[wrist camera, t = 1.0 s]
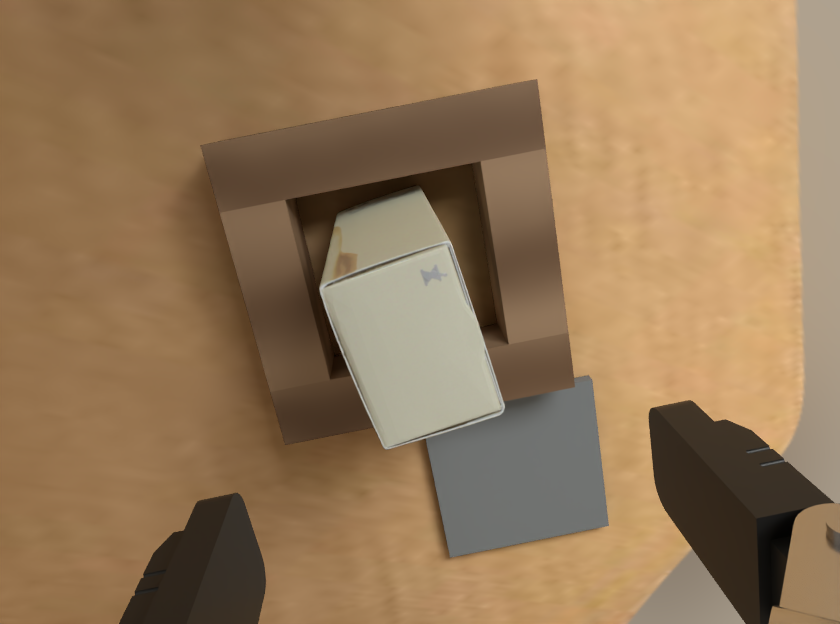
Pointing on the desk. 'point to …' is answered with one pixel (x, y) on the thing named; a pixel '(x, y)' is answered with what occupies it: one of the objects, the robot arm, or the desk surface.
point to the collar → (377, 161)
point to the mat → (522, 472)
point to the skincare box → (406, 321)
